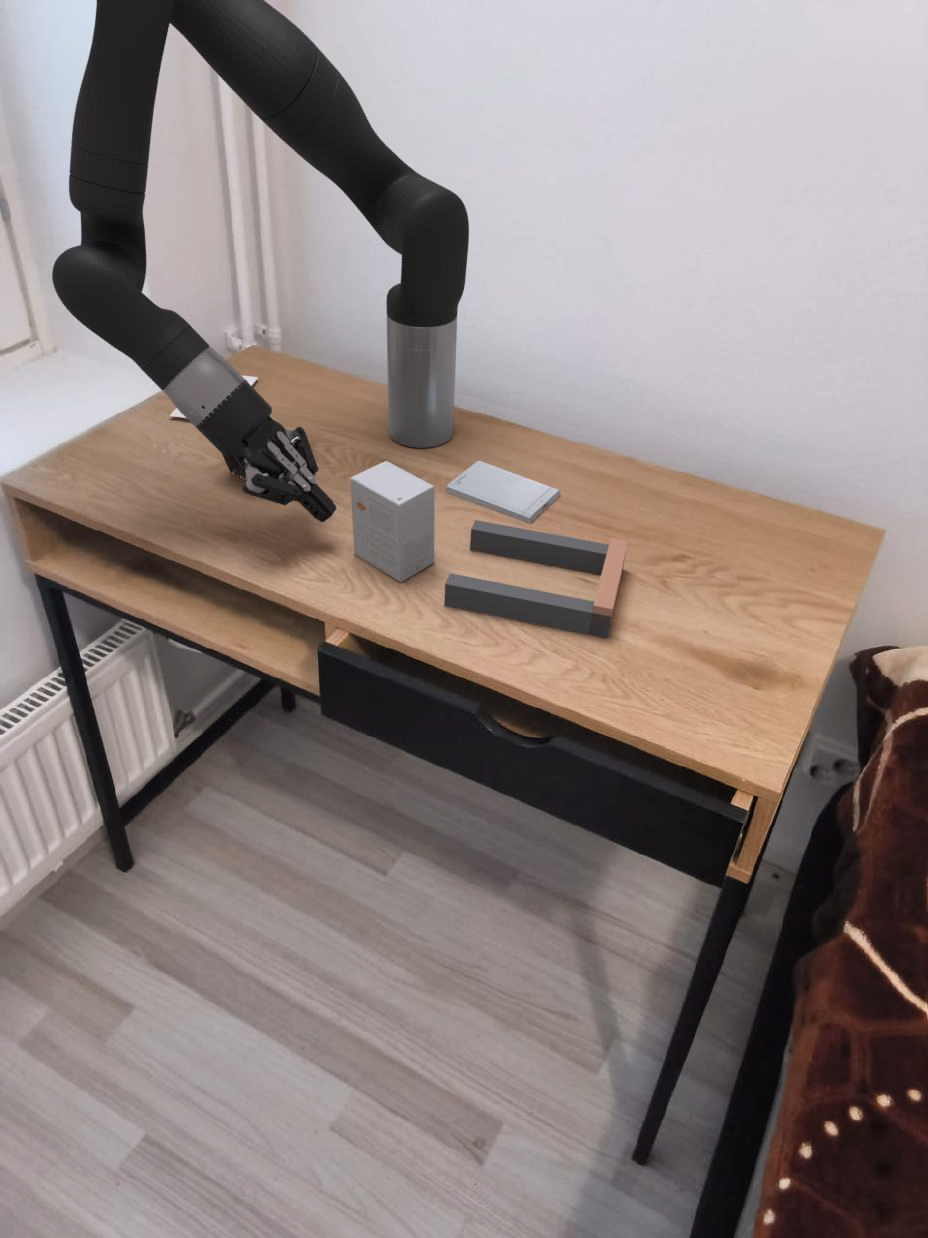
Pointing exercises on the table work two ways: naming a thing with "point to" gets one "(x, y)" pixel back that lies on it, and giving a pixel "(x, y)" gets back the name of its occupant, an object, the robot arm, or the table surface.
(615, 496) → the table surface
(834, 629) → the table surface
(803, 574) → the table surface
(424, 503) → the small box
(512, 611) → the dock
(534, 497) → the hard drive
